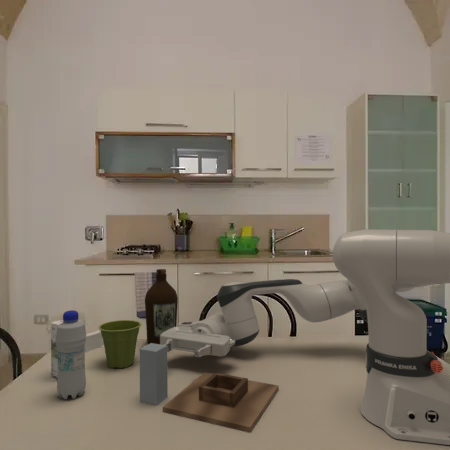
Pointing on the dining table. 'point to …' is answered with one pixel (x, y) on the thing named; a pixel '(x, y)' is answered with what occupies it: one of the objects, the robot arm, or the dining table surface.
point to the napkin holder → (94, 341)
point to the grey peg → (153, 373)
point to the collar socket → (223, 400)
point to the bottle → (71, 356)
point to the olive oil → (160, 308)
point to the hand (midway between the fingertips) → (180, 351)
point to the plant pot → (120, 342)
